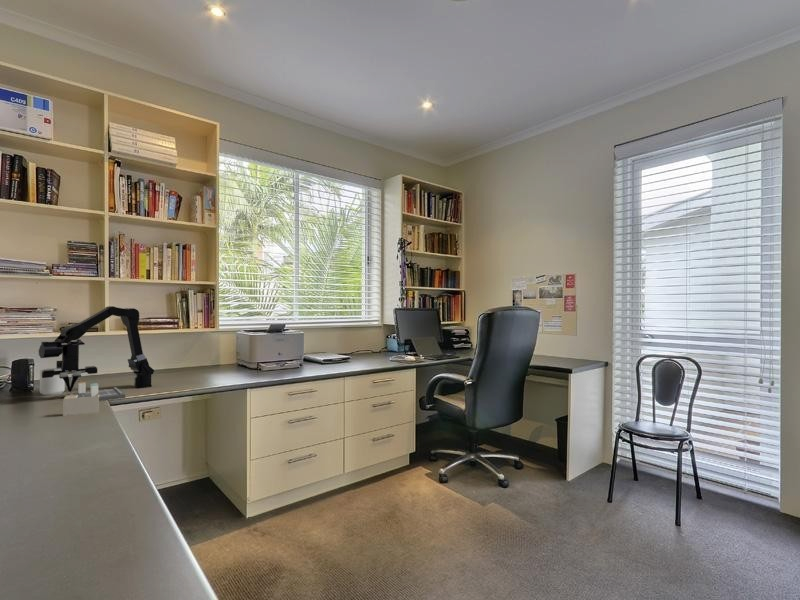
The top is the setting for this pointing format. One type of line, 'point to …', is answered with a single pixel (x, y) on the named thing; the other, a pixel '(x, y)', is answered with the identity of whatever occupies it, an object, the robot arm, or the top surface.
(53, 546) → the top surface
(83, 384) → the grey rectangular block
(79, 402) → the model
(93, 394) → the fader teal
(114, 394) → the console
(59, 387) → the mug
